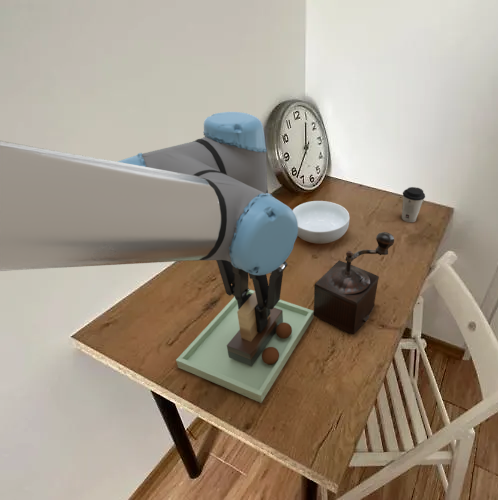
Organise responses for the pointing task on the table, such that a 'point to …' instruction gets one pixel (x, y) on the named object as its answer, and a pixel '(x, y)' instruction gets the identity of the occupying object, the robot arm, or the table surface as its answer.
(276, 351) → the cork ball
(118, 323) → the table surface
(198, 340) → the tray
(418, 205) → the coffee cup
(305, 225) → the cereal bowl
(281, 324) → the cork ball
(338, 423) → the table surface
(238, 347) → the chalkboard eraser
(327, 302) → the manual coffee grinder
